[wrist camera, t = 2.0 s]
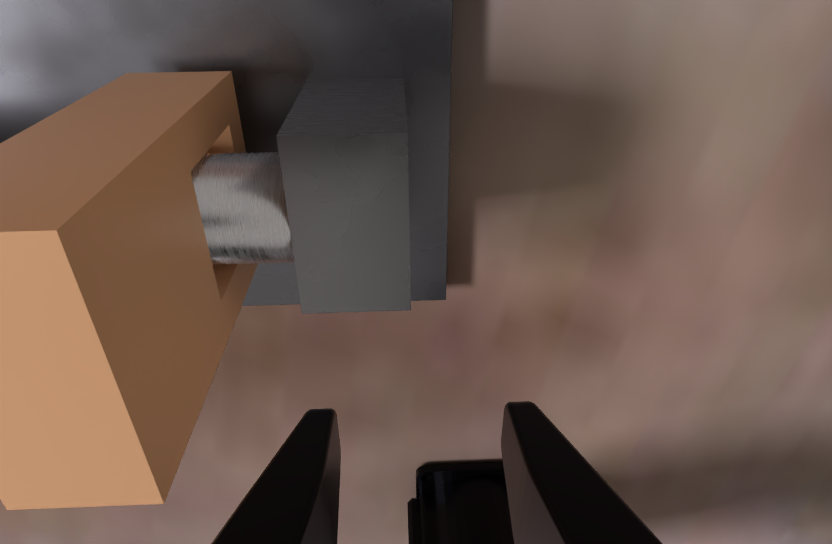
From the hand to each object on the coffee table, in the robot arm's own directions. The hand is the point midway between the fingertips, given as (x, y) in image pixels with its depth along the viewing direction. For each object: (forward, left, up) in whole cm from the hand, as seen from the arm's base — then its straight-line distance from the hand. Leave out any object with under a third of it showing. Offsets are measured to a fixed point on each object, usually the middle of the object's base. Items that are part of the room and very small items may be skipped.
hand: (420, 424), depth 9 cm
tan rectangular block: (+6, 0, -11) cm, 13 cm away
